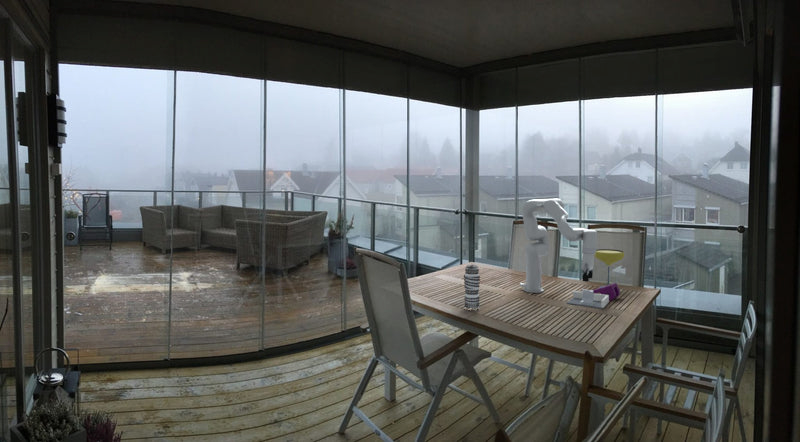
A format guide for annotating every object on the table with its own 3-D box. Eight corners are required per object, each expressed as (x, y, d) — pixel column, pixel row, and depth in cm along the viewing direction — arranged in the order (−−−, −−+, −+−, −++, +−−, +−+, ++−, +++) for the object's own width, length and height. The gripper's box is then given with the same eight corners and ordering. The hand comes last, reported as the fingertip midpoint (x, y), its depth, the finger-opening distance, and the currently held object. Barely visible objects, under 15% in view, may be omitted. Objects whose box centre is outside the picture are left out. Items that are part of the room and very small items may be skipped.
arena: (566, 303, 271) (566, 296, 271) (573, 298, 283) (573, 290, 283) (603, 308, 260) (603, 300, 259) (608, 302, 272) (608, 295, 271)
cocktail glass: (624, 287, 311) (625, 250, 309) (621, 292, 296) (622, 254, 294) (596, 284, 321) (596, 248, 319) (591, 289, 306) (592, 252, 304)
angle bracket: (582, 301, 274) (582, 289, 273) (593, 302, 271) (593, 290, 270) (580, 303, 269) (580, 291, 269) (591, 304, 266) (591, 292, 265)
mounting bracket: (589, 306, 286) (616, 298, 274) (583, 293, 288) (610, 285, 276) (594, 303, 293) (622, 295, 281) (589, 291, 295) (616, 282, 283)
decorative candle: (467, 311, 257) (467, 267, 255) (461, 307, 266) (461, 264, 264) (482, 310, 260) (482, 266, 258) (475, 305, 269) (475, 263, 267)
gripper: (585, 248, 278) (584, 275, 280) (578, 252, 264) (576, 281, 266) (599, 249, 274) (597, 277, 276) (592, 253, 260) (590, 283, 262)
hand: (587, 279), depth 271 cm, fingers open, 9 cm apart
